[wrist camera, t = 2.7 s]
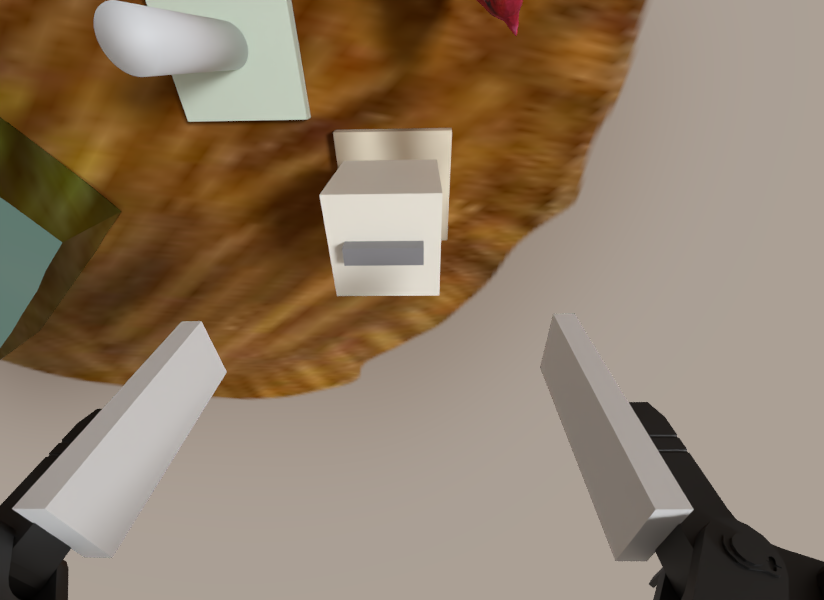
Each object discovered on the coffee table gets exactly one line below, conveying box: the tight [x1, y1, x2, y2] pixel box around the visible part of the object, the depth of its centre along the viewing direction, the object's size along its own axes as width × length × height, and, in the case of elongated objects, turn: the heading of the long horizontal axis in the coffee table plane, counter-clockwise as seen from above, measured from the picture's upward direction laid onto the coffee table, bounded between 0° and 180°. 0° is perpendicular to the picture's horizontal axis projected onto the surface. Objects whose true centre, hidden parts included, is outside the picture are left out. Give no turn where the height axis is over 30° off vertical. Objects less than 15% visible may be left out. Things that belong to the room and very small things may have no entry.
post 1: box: [94, 0, 311, 122], centre depth 22 cm, size 10×10×12 cm
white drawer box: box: [319, 159, 443, 296], centre depth 25 cm, size 7×7×9 cm
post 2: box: [333, 128, 452, 240], centre depth 28 cm, size 10×10×12 cm
